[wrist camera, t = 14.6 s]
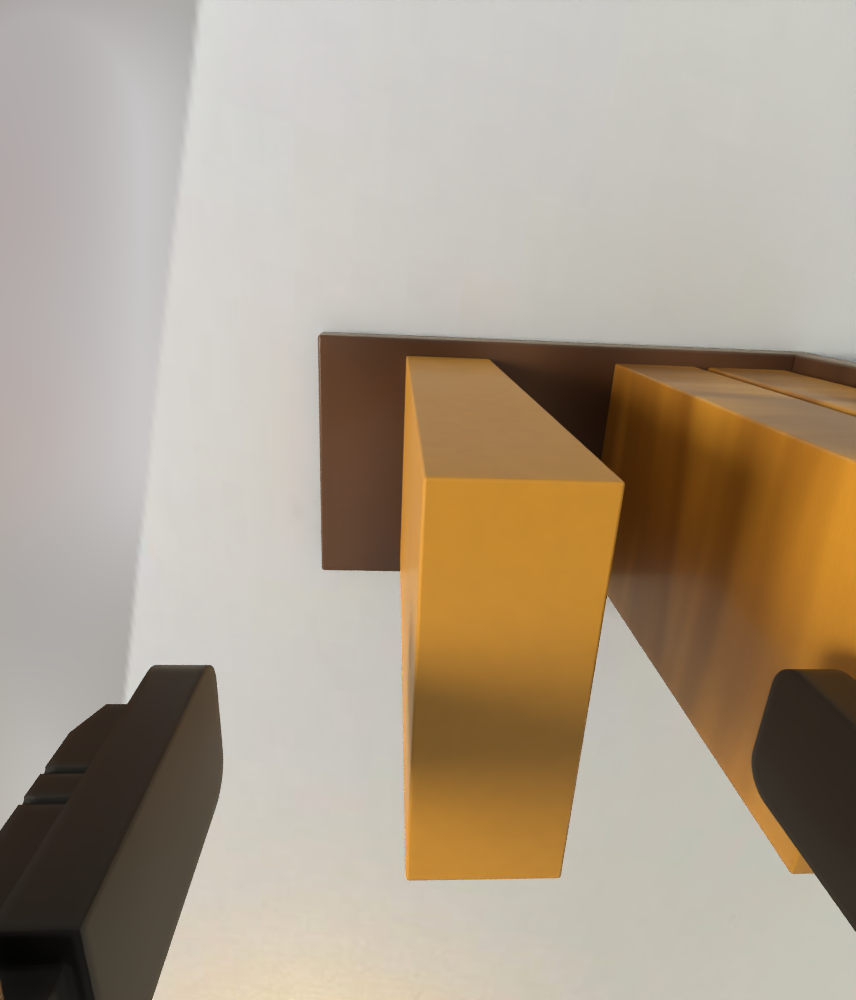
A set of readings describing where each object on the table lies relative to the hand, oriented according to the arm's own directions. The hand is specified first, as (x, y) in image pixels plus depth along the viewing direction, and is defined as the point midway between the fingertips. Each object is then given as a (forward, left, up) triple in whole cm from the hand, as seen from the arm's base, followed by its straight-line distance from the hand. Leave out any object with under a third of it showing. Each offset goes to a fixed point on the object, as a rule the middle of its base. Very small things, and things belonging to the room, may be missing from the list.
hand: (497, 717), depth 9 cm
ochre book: (0, 0, -12) cm, 12 cm away
